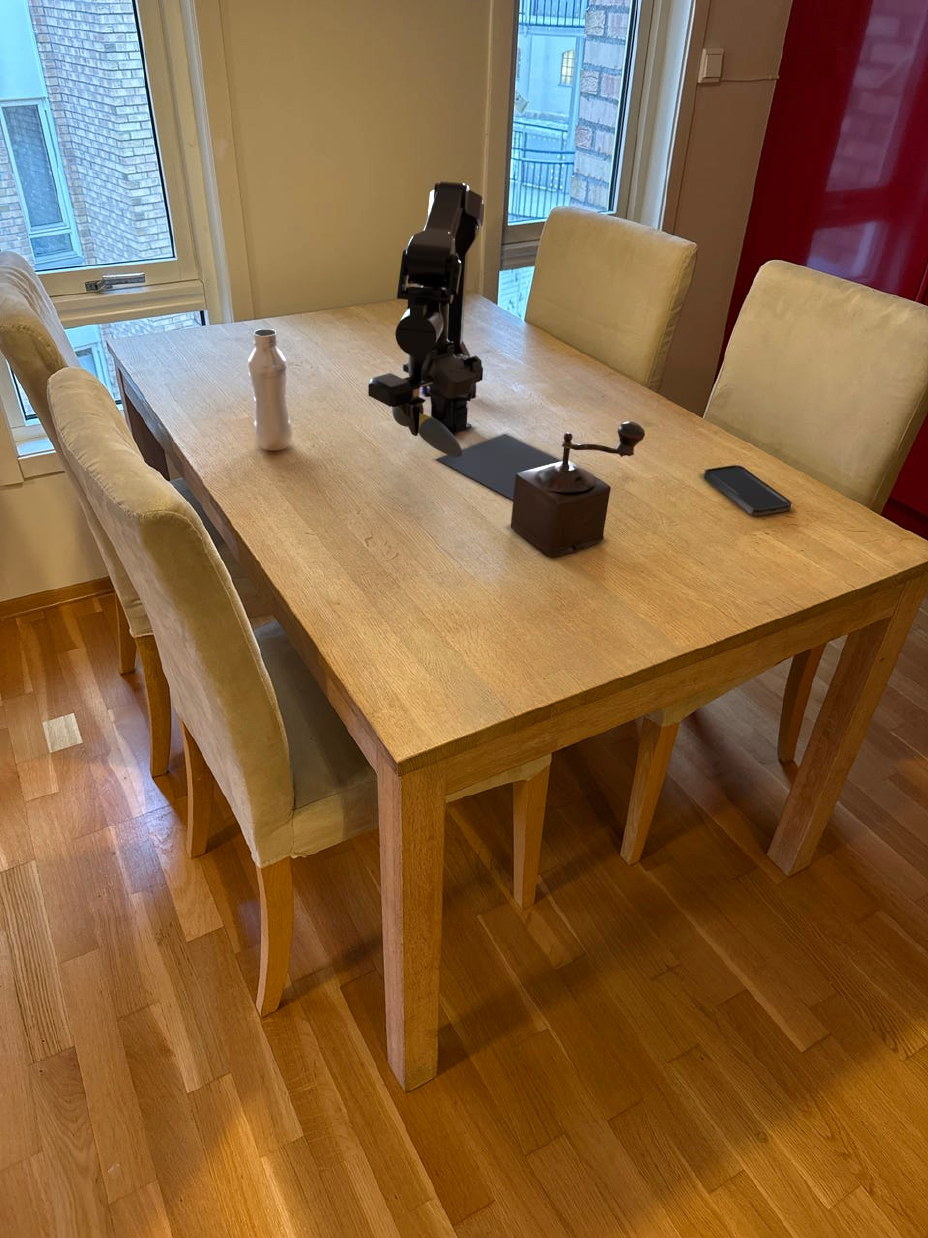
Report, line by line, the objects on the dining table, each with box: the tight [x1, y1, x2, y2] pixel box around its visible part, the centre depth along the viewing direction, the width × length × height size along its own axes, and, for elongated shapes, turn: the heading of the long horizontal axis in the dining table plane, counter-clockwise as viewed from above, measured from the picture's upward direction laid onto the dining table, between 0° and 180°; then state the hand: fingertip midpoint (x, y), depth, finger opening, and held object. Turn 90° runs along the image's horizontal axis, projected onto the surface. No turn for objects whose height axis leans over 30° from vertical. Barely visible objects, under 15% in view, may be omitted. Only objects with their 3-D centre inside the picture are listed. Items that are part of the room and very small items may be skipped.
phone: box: [703, 464, 793, 517], centre depth 150 cm, size 8×1×15 cm
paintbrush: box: [391, 403, 463, 457], centre depth 141 cm, size 20×5×5 cm, turn 39°
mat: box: [435, 433, 562, 502], centre depth 154 cm, size 20×17×1 cm
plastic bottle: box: [247, 328, 293, 451], centre depth 150 cm, size 6×7×20 cm
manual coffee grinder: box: [510, 420, 646, 559], centre depth 132 cm, size 16×11×18 cm
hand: (425, 431), depth 141 cm, fingers closed on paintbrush, 4 cm apart
